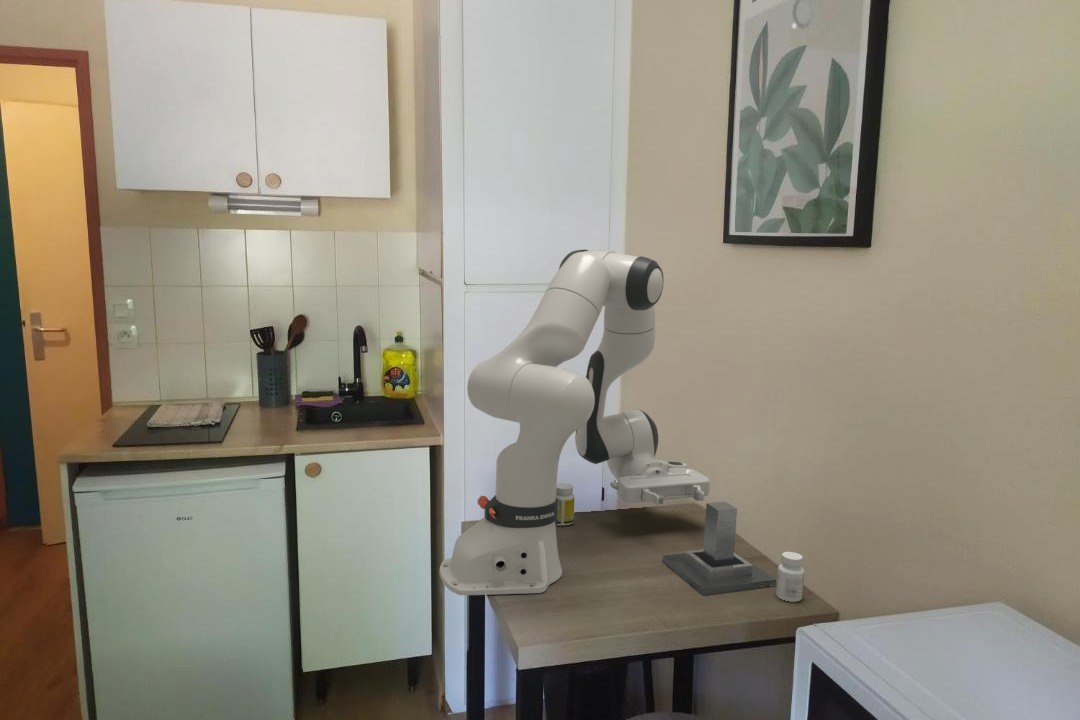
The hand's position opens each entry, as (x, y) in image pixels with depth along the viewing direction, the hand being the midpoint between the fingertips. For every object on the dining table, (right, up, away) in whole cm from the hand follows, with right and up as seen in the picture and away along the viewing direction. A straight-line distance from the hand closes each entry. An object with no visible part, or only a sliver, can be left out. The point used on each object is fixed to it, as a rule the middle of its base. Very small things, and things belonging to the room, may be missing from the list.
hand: (681, 499), depth 155 cm
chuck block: (+5, -12, -13) cm, 18 cm away
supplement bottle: (-24, -7, +11) cm, 27 cm away
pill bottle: (+15, -14, -22) cm, 30 cm away
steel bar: (+4, -10, -13) cm, 17 cm away
